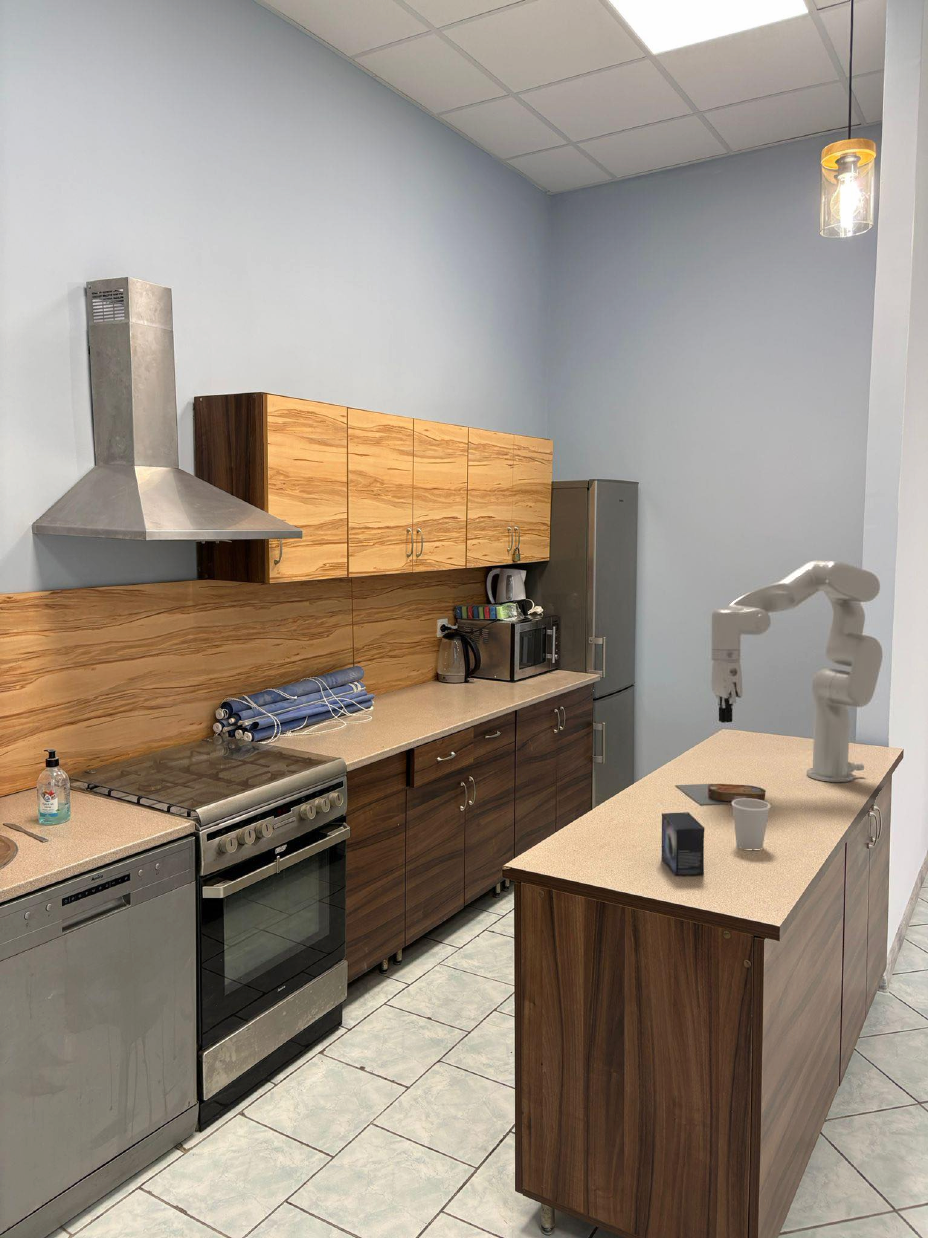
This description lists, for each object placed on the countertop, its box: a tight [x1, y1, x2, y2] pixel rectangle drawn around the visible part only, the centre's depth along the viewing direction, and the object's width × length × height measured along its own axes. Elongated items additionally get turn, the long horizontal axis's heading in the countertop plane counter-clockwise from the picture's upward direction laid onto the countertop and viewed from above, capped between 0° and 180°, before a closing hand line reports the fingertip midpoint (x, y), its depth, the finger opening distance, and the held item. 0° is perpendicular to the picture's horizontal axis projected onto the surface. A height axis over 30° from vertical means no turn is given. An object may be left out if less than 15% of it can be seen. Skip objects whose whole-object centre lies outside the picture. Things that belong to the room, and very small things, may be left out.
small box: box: [660, 811, 706, 877], centre depth 192 cm, size 11×6×10 cm, turn 5°
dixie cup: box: [731, 798, 771, 850], centre depth 204 cm, size 8×8×10 cm
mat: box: [674, 783, 732, 806], centre depth 245 cm, size 11×18×1 cm, turn 8°
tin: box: [708, 783, 767, 802], centre depth 241 cm, size 15×3×8 cm
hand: (725, 721), depth 245 cm, fingers closed
